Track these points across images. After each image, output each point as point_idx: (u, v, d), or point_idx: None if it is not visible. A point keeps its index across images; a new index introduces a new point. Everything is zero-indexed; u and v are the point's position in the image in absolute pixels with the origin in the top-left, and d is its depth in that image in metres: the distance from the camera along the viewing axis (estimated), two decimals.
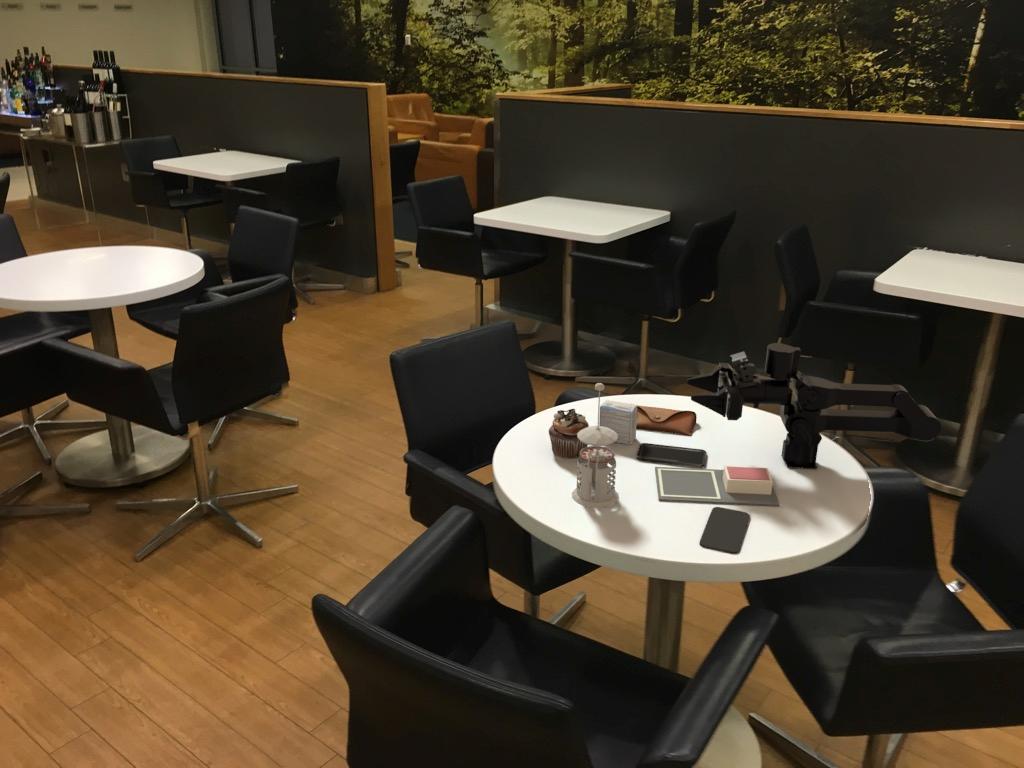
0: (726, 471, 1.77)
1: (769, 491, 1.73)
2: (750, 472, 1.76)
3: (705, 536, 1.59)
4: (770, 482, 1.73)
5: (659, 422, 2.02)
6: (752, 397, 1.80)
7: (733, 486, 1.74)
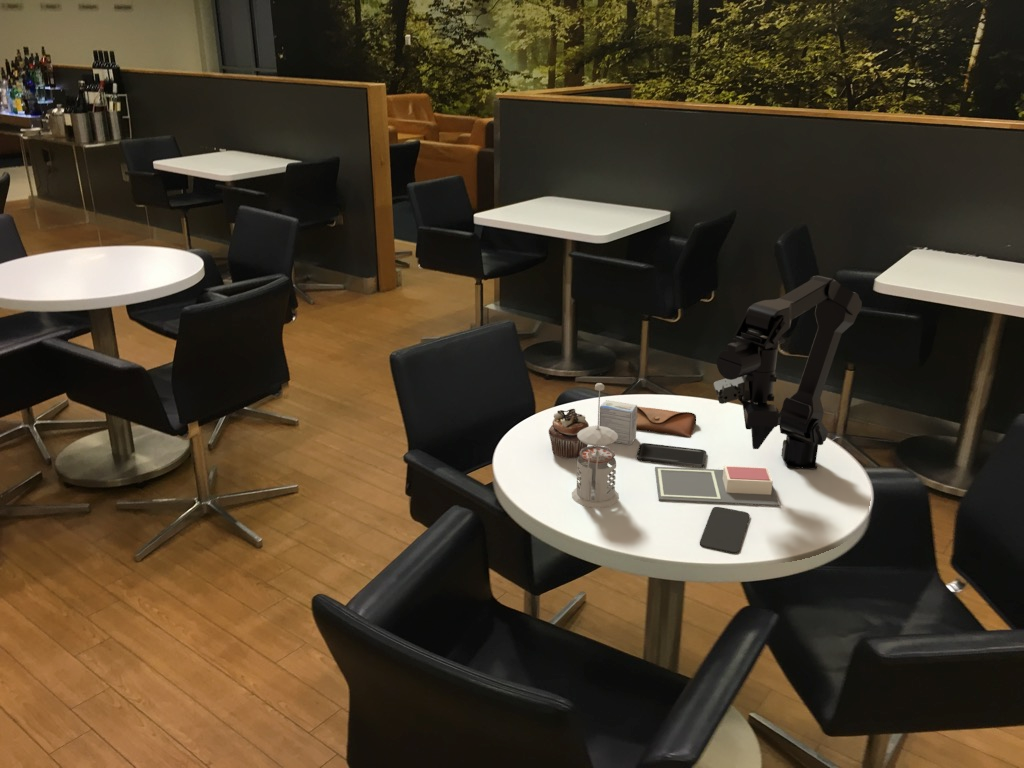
0: (726, 471, 1.77)
1: (769, 491, 1.73)
2: (750, 472, 1.76)
3: (705, 536, 1.59)
4: (770, 482, 1.73)
5: (658, 423, 2.02)
6: (762, 384, 1.65)
7: (733, 486, 1.74)
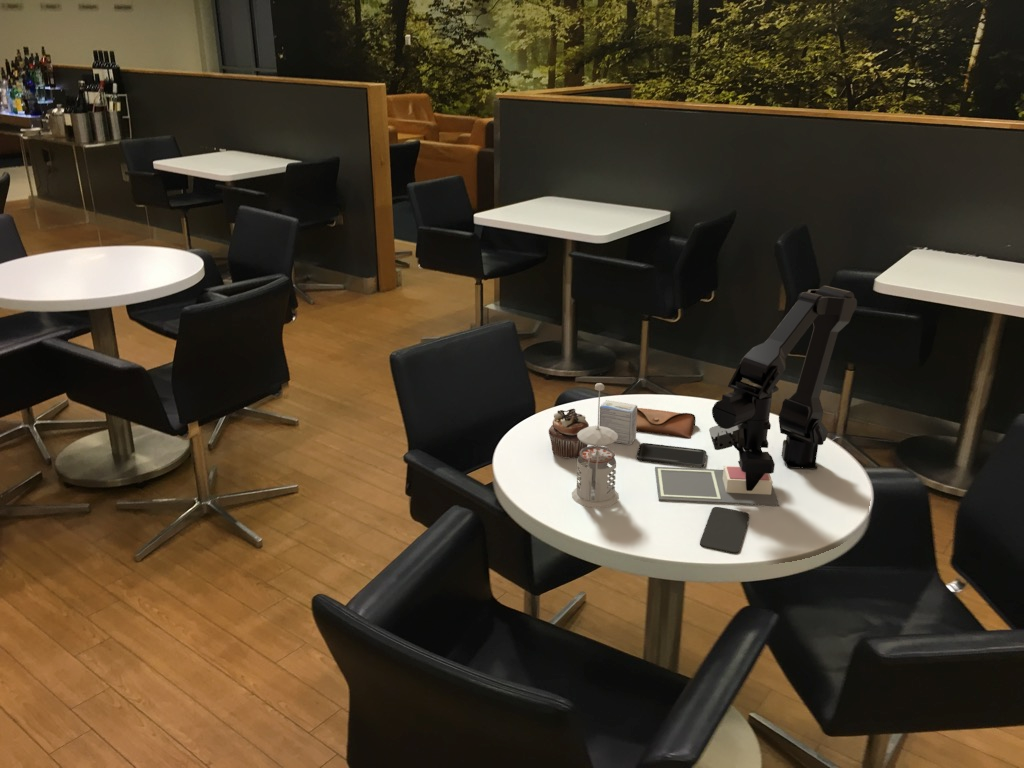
0: (726, 471, 1.77)
1: (769, 491, 1.73)
2: None
3: (705, 536, 1.59)
4: (770, 482, 1.73)
5: (658, 424, 2.01)
6: (756, 432, 1.69)
7: (733, 486, 1.74)
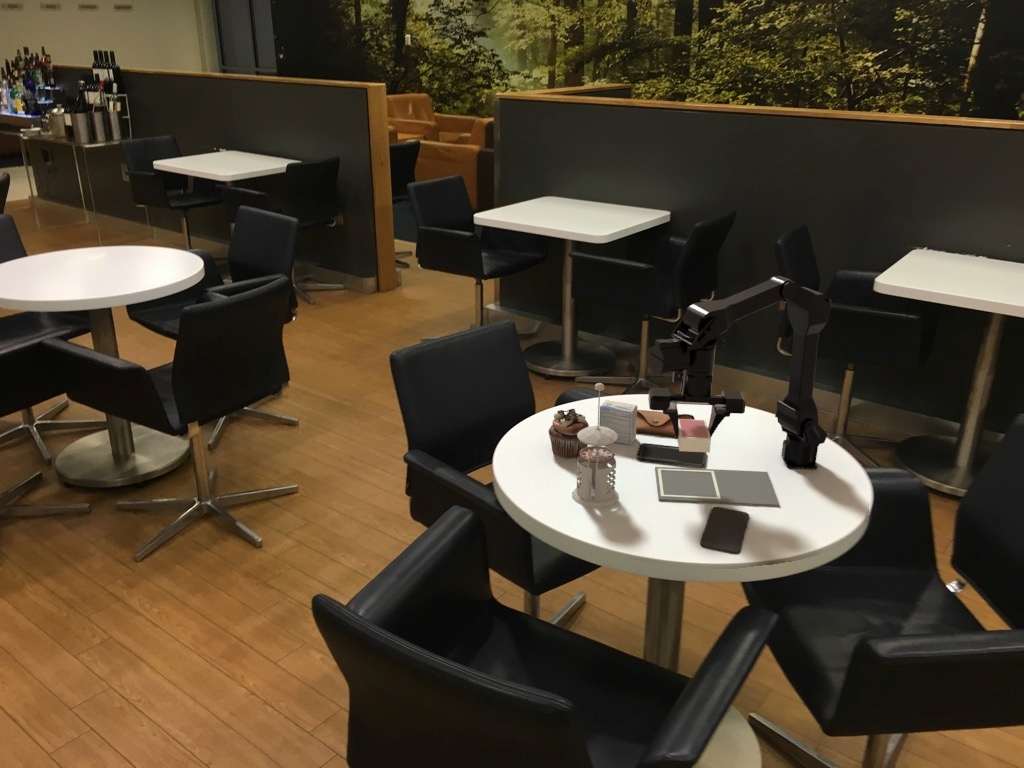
0: (694, 420, 1.77)
1: (679, 447, 1.70)
2: (695, 429, 1.72)
3: (705, 536, 1.59)
4: (680, 437, 1.70)
5: (657, 426, 2.00)
6: (683, 379, 1.69)
7: None
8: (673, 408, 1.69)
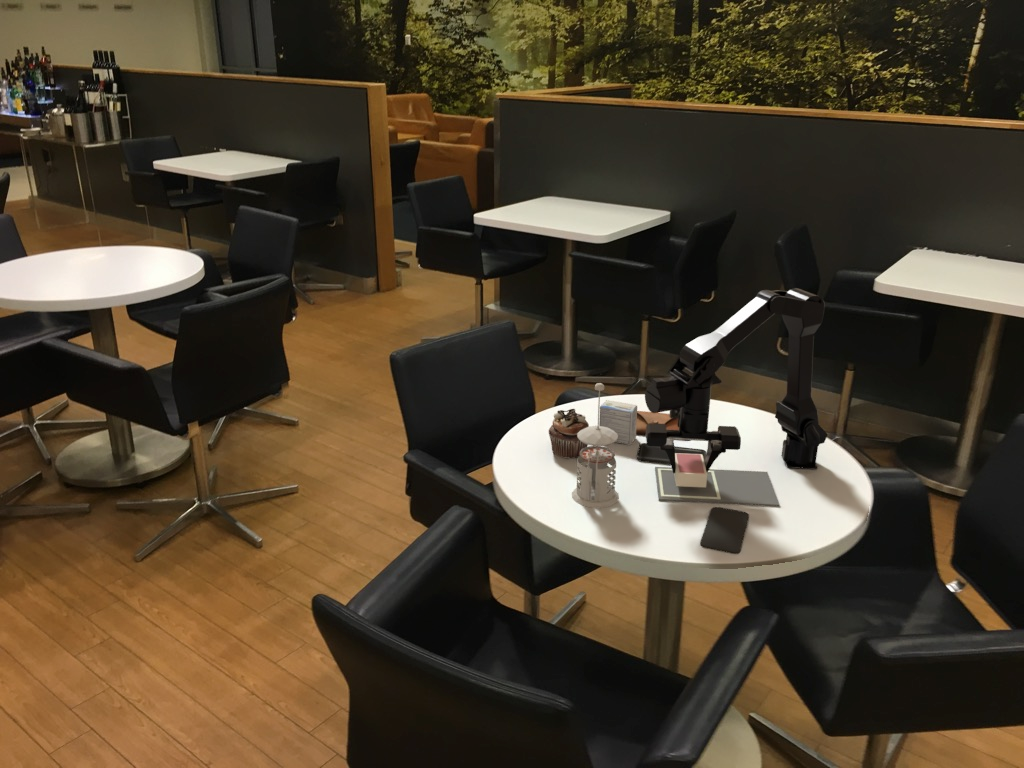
0: (691, 454, 1.80)
1: (676, 482, 1.73)
2: (691, 464, 1.75)
3: (705, 536, 1.59)
4: (677, 473, 1.73)
5: None
6: (680, 416, 1.72)
7: None
8: (670, 444, 1.73)
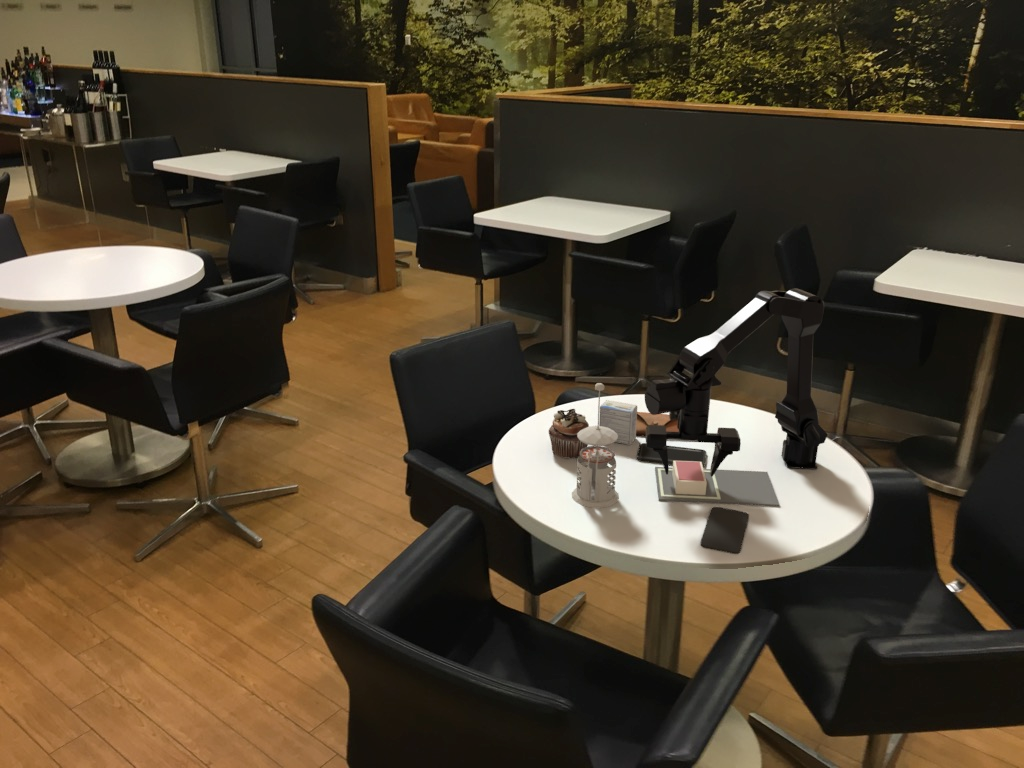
0: (690, 461, 1.81)
1: (675, 489, 1.74)
2: (691, 471, 1.76)
3: (705, 536, 1.59)
4: (676, 480, 1.73)
5: None
6: (679, 417, 1.72)
7: (673, 469, 1.81)
8: None
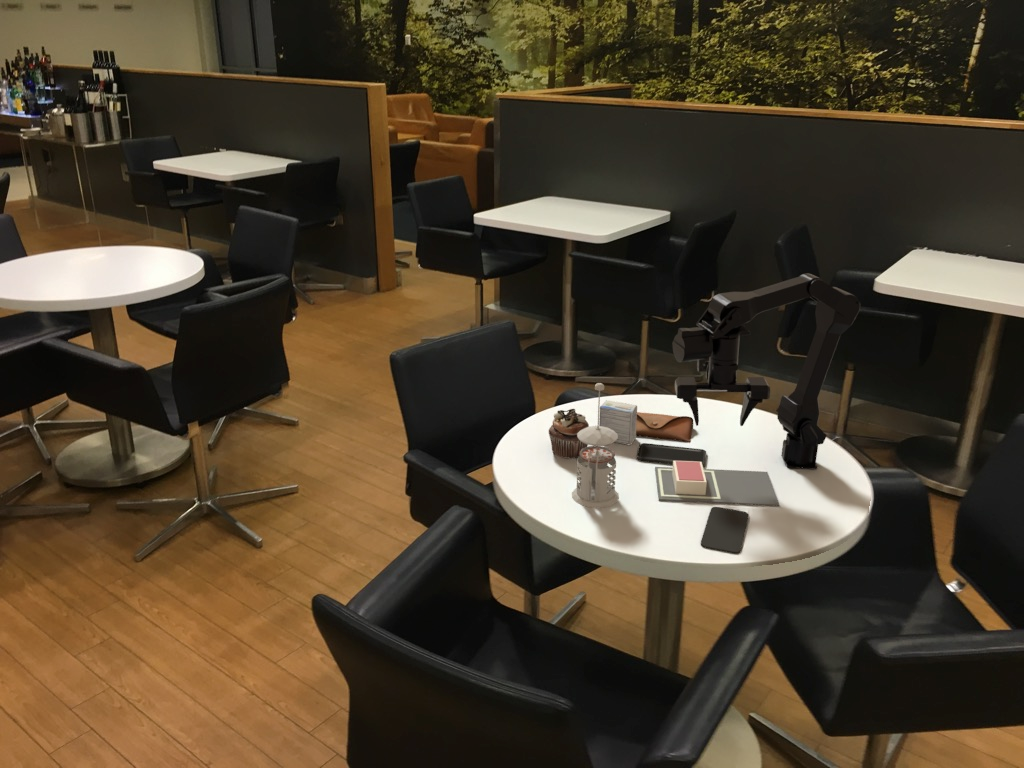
0: (690, 461, 1.81)
1: (675, 489, 1.74)
2: (691, 471, 1.76)
3: (705, 536, 1.59)
4: (676, 480, 1.73)
5: (657, 428, 1.99)
6: (709, 368, 1.74)
7: (673, 469, 1.81)
8: None
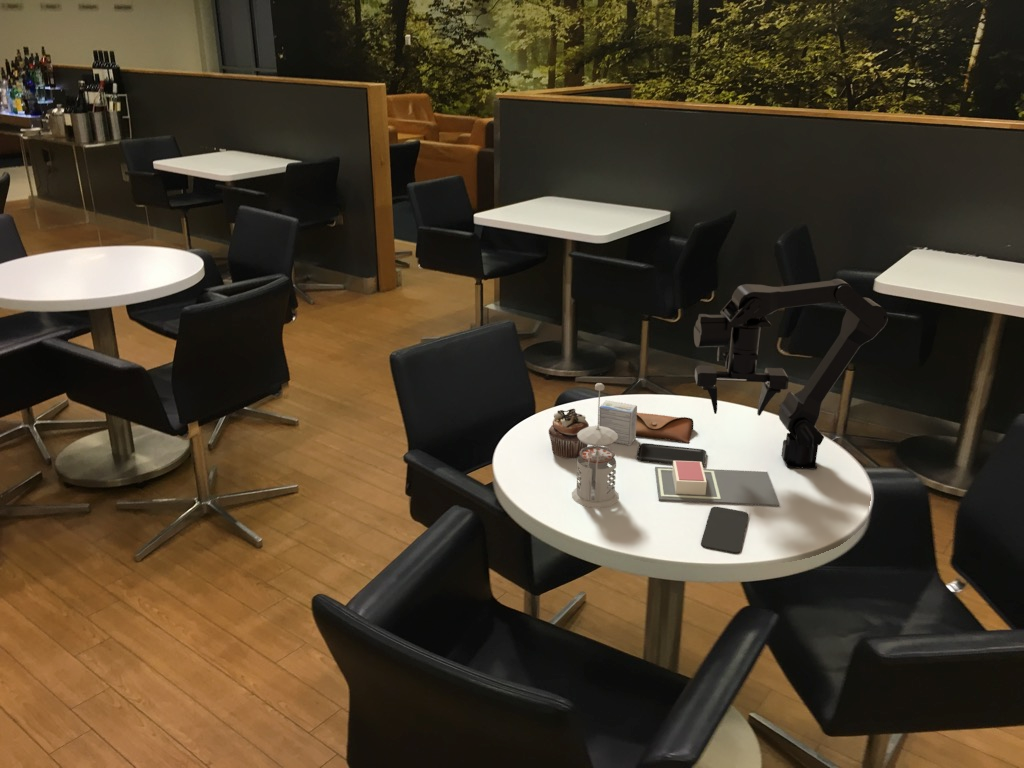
0: (690, 461, 1.81)
1: (675, 489, 1.74)
2: (691, 471, 1.76)
3: (706, 536, 1.59)
4: (676, 480, 1.73)
5: (656, 429, 1.99)
6: (729, 357, 1.78)
7: (673, 469, 1.81)
8: None
